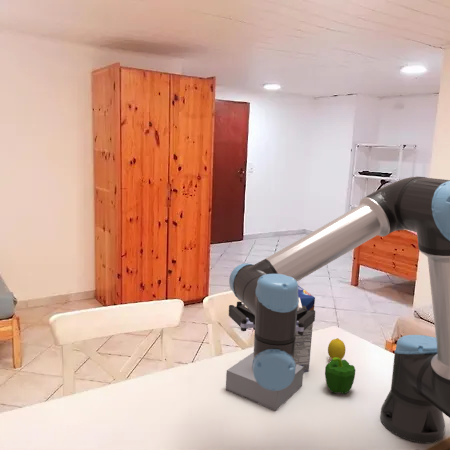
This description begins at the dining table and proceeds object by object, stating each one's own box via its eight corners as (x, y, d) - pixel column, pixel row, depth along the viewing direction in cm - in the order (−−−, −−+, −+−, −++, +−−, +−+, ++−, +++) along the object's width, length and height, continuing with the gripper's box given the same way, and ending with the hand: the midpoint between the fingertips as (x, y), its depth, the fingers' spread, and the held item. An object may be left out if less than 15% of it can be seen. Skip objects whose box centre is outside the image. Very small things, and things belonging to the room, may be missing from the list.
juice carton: (272, 355, 148) (276, 286, 144) (292, 354, 150) (298, 285, 146) (286, 373, 137) (292, 299, 133) (308, 371, 139) (315, 297, 135)
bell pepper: (350, 383, 133) (354, 352, 131) (355, 398, 125) (358, 365, 123) (322, 380, 134) (324, 349, 132) (324, 395, 126) (327, 362, 124)
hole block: (302, 385, 130) (303, 366, 129) (275, 411, 117) (277, 390, 116) (255, 368, 139) (256, 350, 138) (225, 390, 126) (226, 370, 125)
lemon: (326, 356, 149) (328, 334, 148) (343, 358, 149) (345, 335, 147) (327, 364, 144) (329, 341, 143) (345, 366, 143) (347, 343, 142)
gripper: (212, 350, 94) (221, 312, 115) (332, 358, 92) (319, 318, 113) (213, 316, 93) (222, 284, 114) (335, 324, 91) (322, 290, 112)
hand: (271, 301), depth 113 cm, fingers open, 13 cm apart
